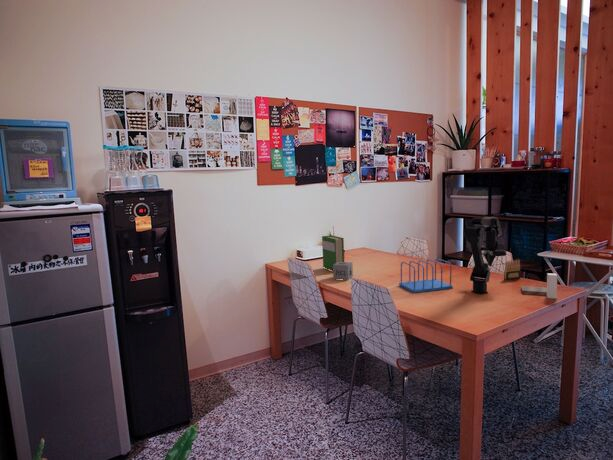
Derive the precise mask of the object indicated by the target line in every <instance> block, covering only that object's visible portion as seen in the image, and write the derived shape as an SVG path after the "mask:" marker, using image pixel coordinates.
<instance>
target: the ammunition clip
mask: <svg viewBox="0 0 613 460" xmlns="http://www.w3.org/2000/svg"><path fill="white" fill-rule="evenodd" d="M521 274H522V273H521V263H520V258H519V259H515V260H514V259H513V260H506V261H505V265H504V273H503V276H504V277H503V280H505V281H510V280H520V279H519V278H521V277H522V276H521Z"/></svg>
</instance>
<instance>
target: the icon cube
mask: <svg viewBox="0 0 613 460" xmlns="http://www.w3.org/2000/svg"><path fill="white" fill-rule="evenodd" d="M353 272H354V270H353V262H350V261H344V262H337V263H335V264H334V265H333V272H332V273H333V274H332V275H333V278H332V279H343V280H349V279H350V278H351V279H353V278H352V277H354V274H353ZM351 279H350V280H351ZM350 280H349V281H350Z"/></svg>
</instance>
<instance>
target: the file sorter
mask: <svg viewBox="0 0 613 460" xmlns="http://www.w3.org/2000/svg"><path fill="white" fill-rule="evenodd" d="M438 261H440V262H444V263H446V264H449V266H450V269H449V270H450V272H449V273H450V274H449V283H446V282H445V281H443V266H442V263H440V262H438ZM420 262H422V263H424V264H426V269H425V267H424V265H423V264H421V263H420ZM429 262H433V263H434V266H433V264H432V263H429ZM411 263H414V264H416V265H417V280H416V268H415V266H414V265H412V264H411ZM403 264H405V265H408V267H409V268H408V269H409V271H408V272H409V273H408V275H409V276H408V277H409V280H408V281H405V282H403V274H402V273H403ZM438 264H439V265H440V274H441V276H440V279H437V265H438ZM428 265H430V266H431V270H432V271H431V279H428V269H429V268H428ZM420 266H421V267H422V280H420ZM411 267H412V269H413V281H411ZM452 268H453V267H452V263H450V262H449V261H446V260H444V259H440V258H436V259H435V260H433V259H426V261H424V260H422V259H419V260H418V261H412V260H410V261H409V263H408V262H405V261H402V262H401V263H400V282H398V286H399V287H402V288H404V290H407V291H409V292H411V293H413V294H417V292H419V293H425V292H435V291H442V290H443V291H445V290H452V289H453V288H454V286H453V285H452ZM425 270H426V271H425ZM425 272H426V279H425Z"/></svg>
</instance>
